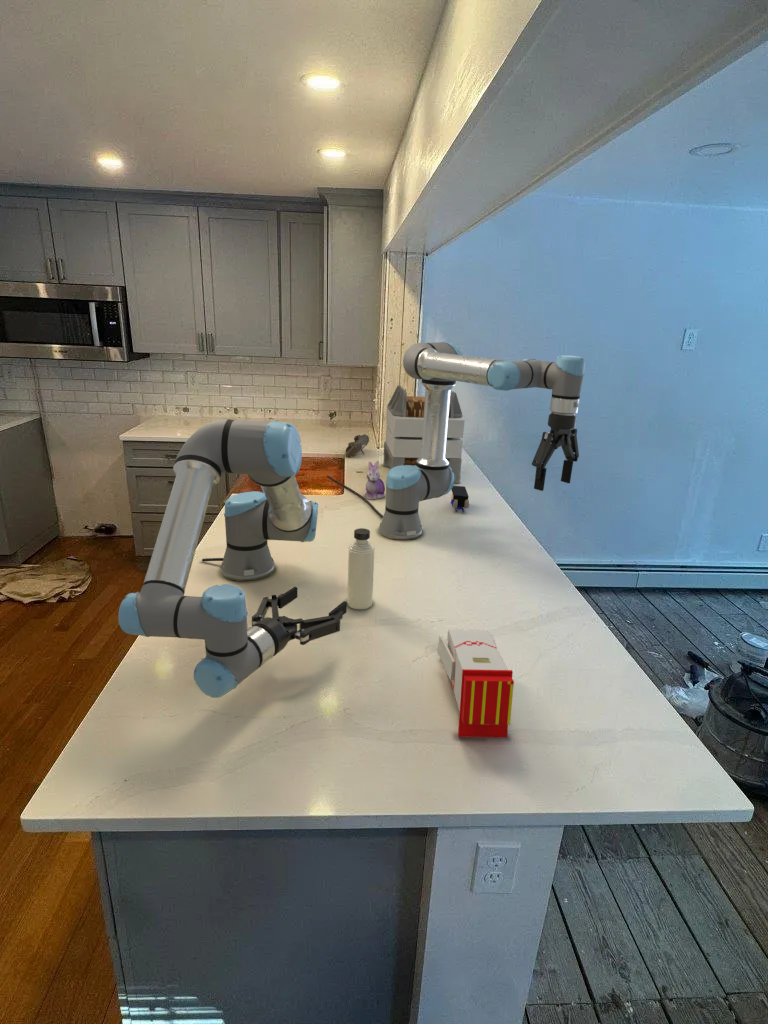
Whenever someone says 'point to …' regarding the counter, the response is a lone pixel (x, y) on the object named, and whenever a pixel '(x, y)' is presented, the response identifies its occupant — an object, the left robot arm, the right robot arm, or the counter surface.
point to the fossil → (357, 445)
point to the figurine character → (459, 498)
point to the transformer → (419, 431)
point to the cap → (361, 534)
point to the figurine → (374, 483)
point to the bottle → (360, 574)
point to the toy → (478, 682)
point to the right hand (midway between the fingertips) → (552, 485)
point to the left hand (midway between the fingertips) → (320, 599)
